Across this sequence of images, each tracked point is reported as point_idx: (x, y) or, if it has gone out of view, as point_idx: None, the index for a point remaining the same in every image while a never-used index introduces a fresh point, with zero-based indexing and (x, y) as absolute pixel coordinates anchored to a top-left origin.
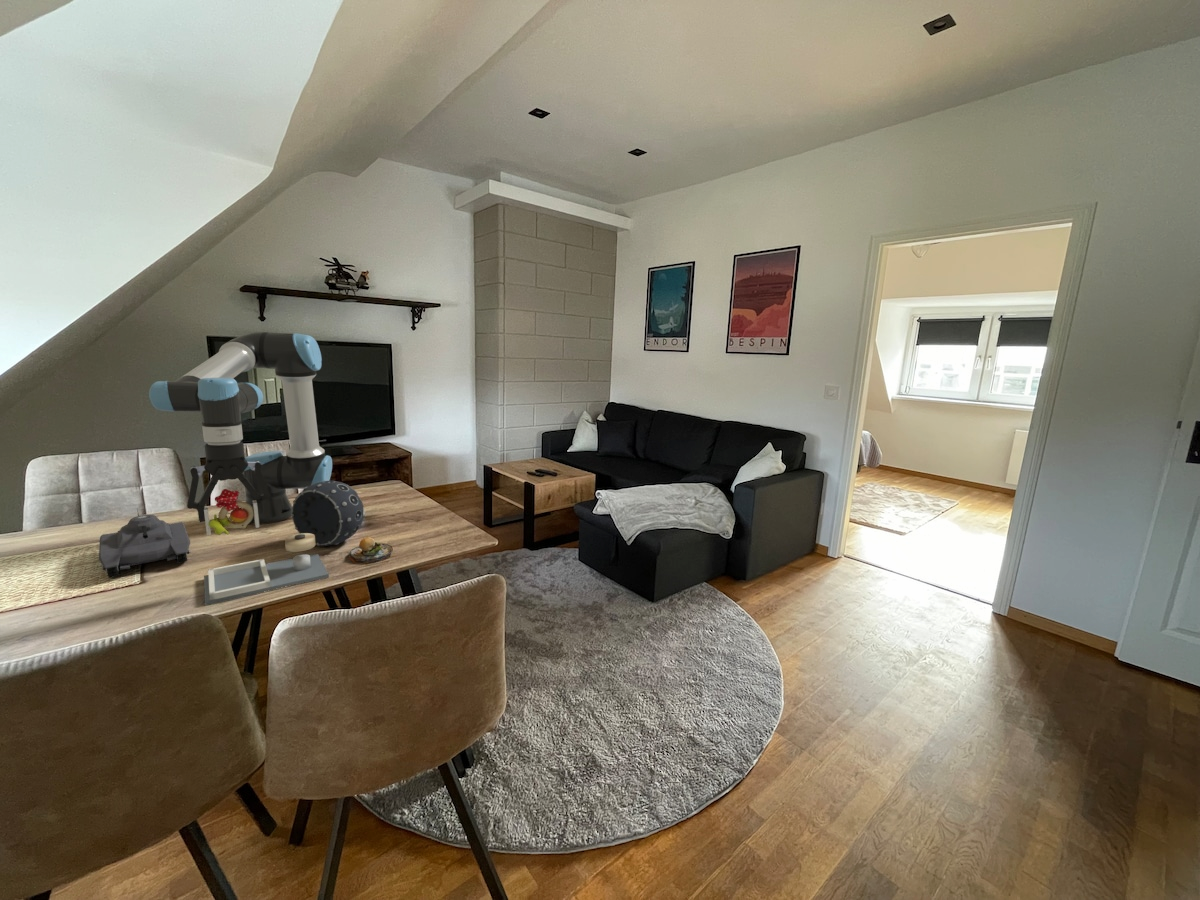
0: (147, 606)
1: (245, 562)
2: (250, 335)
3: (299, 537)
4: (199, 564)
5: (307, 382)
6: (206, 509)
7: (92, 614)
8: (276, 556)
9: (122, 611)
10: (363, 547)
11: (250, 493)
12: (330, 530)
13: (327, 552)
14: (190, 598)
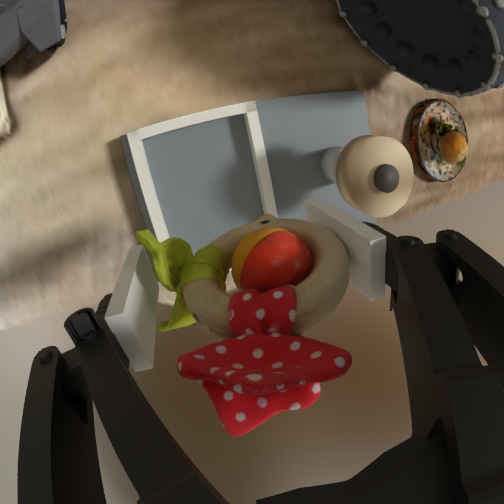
0: (64, 250)
1: (211, 109)
2: None
3: (387, 192)
4: (93, 42)
5: None
6: (144, 365)
7: (4, 255)
8: (268, 43)
9: (37, 258)
10: (446, 159)
11: (400, 340)
12: (407, 40)
13: (375, 76)
14: (125, 236)
